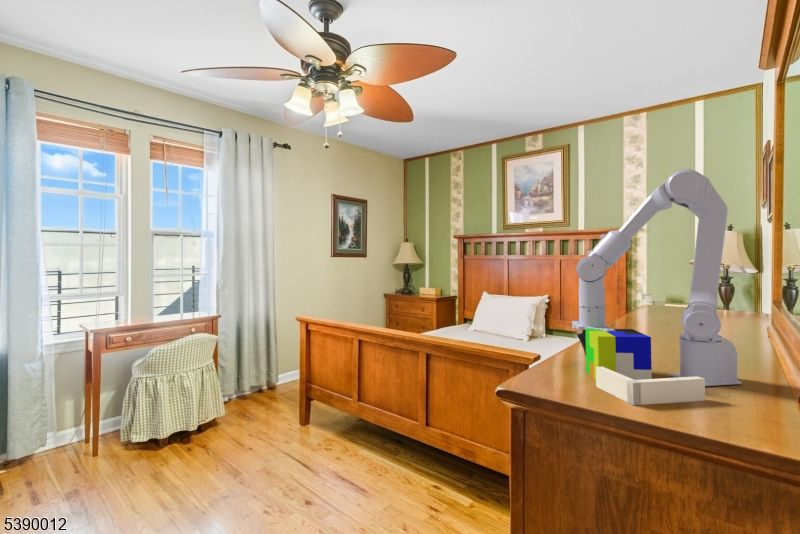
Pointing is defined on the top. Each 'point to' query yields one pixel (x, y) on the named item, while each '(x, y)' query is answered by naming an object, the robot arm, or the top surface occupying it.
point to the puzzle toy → (619, 352)
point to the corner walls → (650, 388)
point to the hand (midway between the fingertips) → (592, 363)
